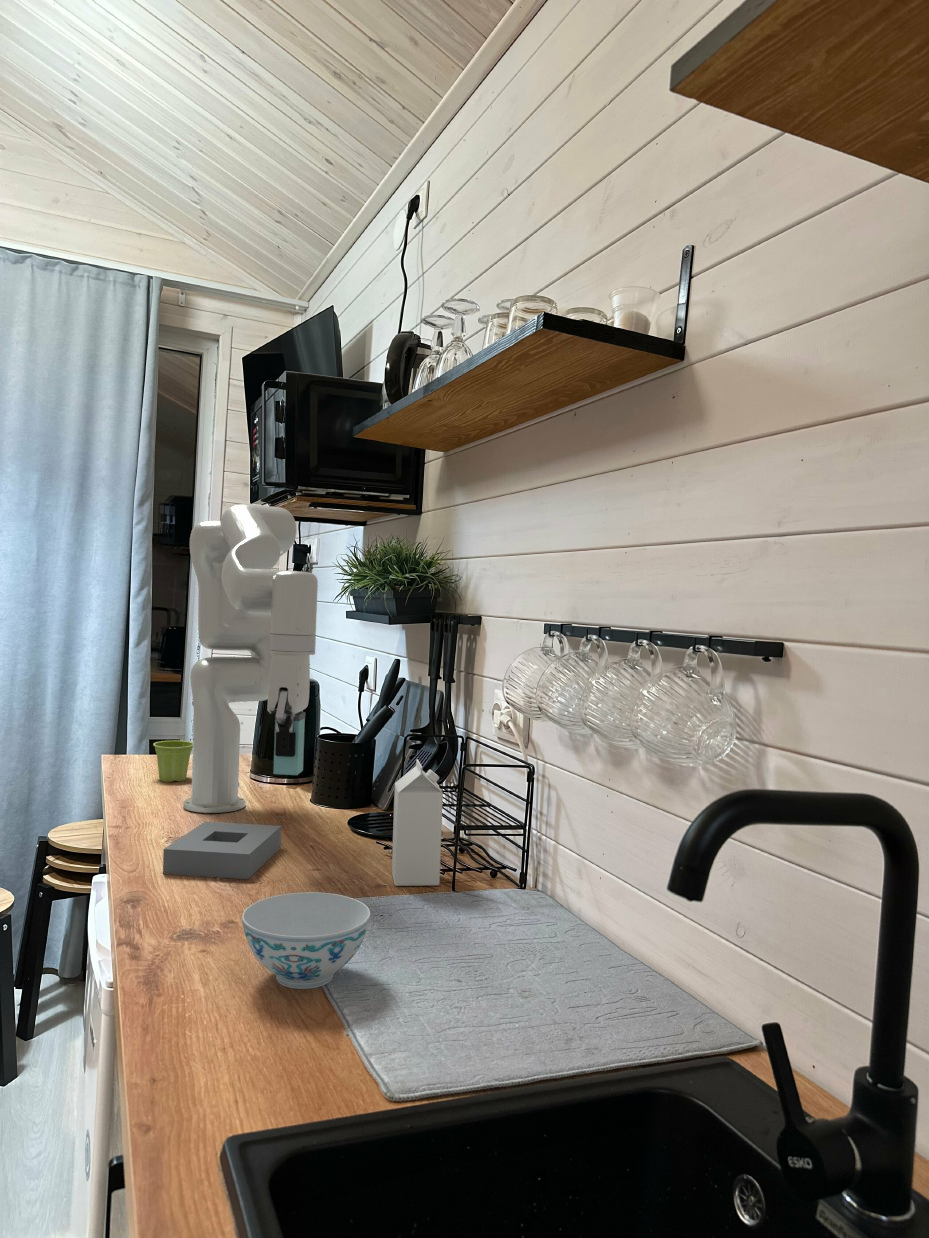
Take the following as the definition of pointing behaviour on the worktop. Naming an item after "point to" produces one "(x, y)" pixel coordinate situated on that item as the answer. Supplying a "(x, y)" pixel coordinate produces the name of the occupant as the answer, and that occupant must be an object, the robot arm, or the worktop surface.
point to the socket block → (222, 850)
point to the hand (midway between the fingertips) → (288, 752)
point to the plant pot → (173, 759)
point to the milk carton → (417, 829)
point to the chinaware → (305, 935)
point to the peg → (296, 762)
